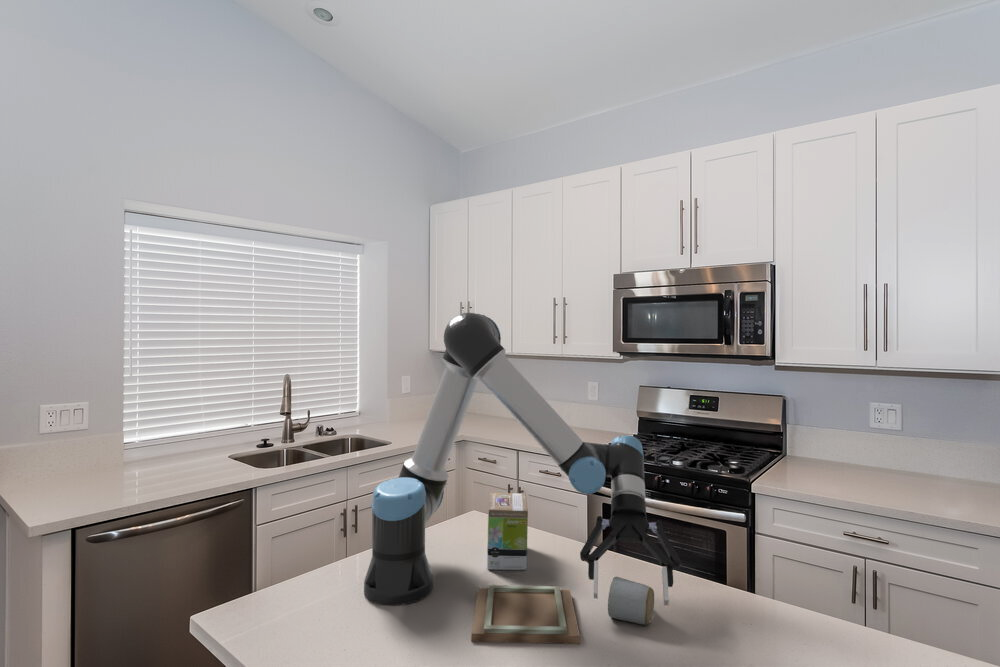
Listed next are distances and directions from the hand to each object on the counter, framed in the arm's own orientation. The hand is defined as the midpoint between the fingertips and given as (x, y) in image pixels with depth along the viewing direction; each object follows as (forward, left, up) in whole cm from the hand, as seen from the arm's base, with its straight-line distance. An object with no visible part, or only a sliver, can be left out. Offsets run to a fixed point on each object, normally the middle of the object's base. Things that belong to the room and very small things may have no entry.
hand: (630, 599), depth 106 cm
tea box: (-25, +31, -5) cm, 40 cm away
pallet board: (-21, +2, -5) cm, 21 cm away
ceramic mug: (+1, +3, -5) cm, 6 cm away
